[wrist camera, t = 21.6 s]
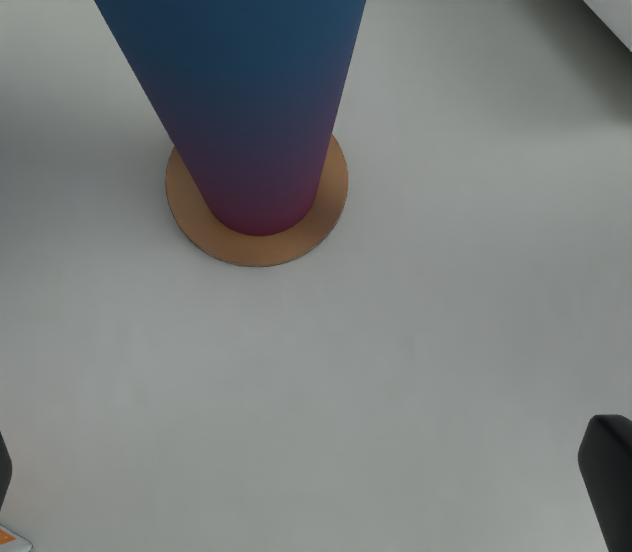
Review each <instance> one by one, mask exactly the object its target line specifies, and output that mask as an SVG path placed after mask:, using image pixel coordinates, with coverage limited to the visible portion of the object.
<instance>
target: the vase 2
mask: <svg viewBox="0 0 632 552" xmlns="http://www.w3.org/2000/svg"><path fill="white" fill-rule="evenodd" d="M583 1H584V2H585V3H586V4H587V5H588V6H589V7H590V8H591V9H592V11H593V12H594V13H595V14H596V15H597V16H598V17H599V18H600V19H601V20H602V21H603V22H604V23H605V24H606V25H607V26H608V28H609V29H610V30H611V31H612V32H613V33H614V34H615V35H616V36H617V37H618V38H619V39H620V40H621V41H622V42H623V43H624V45H625V46H626V47H627V48H628V49H629V50H630V51H631V52H632V0H583Z"/></svg>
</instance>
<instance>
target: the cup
mask: <svg viewBox="0 0 632 552" xmlns="http://www.w3.org/2000/svg"><path fill="white" fill-rule="evenodd" d="M94 1H95V3H96V5H97V6H98V8H99V10H100V12H101V14H102V16H103V17H104V19H105V21H106V23H107V25H108V26H109V28H110V30H111V32H112V34H113V35H114V37H115V39H116V41H117V43H118V44H119V46H120V48H121V50H122V52H123V54H124V55H125V57H126V59H127V61H128V63H129V64H130V66H131V68H132V70H133V72H134V73H135V75H136V77H137V79H138V81H139V82H140V84H141V86H142V88H143V90H144V92H145V93H146V95H147V97H148V99H149V101H150V102H151V104H152V106H153V108H154V110H155V111H156V113H157V115H158V117H159V119H160V120H161V122H162V124H163V126H164V128H165V130H166V131H167V133H168V135H169V137H170V139H171V140H172V142H173V144H174V146H175V148H176V149H177V151H178V153H179V155H180V157H181V158H182V160H183V162H184V164H185V166H186V168H187V169H188V171H189V173H190V175H191V177H192V178H193V180H194V182H195V184H196V186H197V187H198V189H199V191H200V193H201V195H202V196H203V198H204V200H205V202H206V204H207V205H208V207H209V209H210V210H211V212H212V214H213V215H214V216H215V217H216V218H217V219H218V220H219V221H220V222H221V223H222V224H224V225H225V226H227V227H228V228H230V229H232V230H234V231H236V232H238V233H242V234H246V235H250V236H267V235H274V234H277V233H280V232H283V231H286V230H287V229H289V228H291V227H293V226H295V225H296V224H297V223H298V222H299V221H300V220H302V219H303V218H304V216H305V215H306V214H307V213H308V211H309V210H310V208H311V206H312V204H313V202H314V200H315V196H316V192H317V189H318V185H319V181H320V177H321V173H322V169H323V165H324V161H325V158H326V154H327V150H328V146H329V142H330V138H331V134H332V130H333V127H334V123H335V119H336V115H337V111H338V107H339V103H340V99H341V96H342V92H343V88H344V84H345V80H346V76H347V72H348V68H349V65H350V61H351V57H352V53H353V49H354V45H355V41H356V37H357V34H358V30H359V26H360V22H361V18H362V14H363V10H364V6H365V3H366V0H94Z"/></svg>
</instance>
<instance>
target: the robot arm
mask: <svg viewBox="0 0 632 552" xmlns="http://www.w3.org/2000/svg"><path fill="white" fill-rule="evenodd" d="M578 464H579V468H580V471H581V474H582V477H583V480H584V483H585V485H586V488H587V491H588V494H589V497H590V500H591V503H592V505H593V508H594V511H595V514H596V517H597V520H598V522H599V525H600V528H601V531H602V534H603V537H604V539H605V542H606V545H607V548H608V550H609V552H632V421H630V420H629V419H627V418H625V417H624V416H621V415H595V416H593V417H592V418H591V419H590V421H589V423H588V426H587V429H586V432H585V434H584V437H583V440H582V443H581V445H580V448H579V451H578ZM11 475H12V463H11V459H10V456H9V454H8V451H7V448H6V445H5V443H4V440H3V437H2V434H1V432H0V510H1V507H2V504H3V501H4V498H5V495H6V492H7V489H8V486H9V483H10V480H11Z"/></svg>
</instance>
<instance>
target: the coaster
mask: <svg viewBox="0 0 632 552" xmlns="http://www.w3.org/2000/svg"><path fill="white" fill-rule="evenodd" d="M347 189H348V172H347V166H346V161H345V158H344V155H343V152H342V150H341V148H340V146H339V144H338V142H337V141H336V139H335V138H334V136H333V135H332V134H331V138H330V142H329V146H328V150H327V154H326V158H325V161H324V165H323V169H322V173H321V177H320V181H319V185H318V189H317V192H316V196H315V200H314V202H313V204H312V206H311V208H310V210H309V211H308V213H307V214H306V215H305V216H304V218H303V219H302V220H300V221H299V222H298V223H297V224H296V225H295V226H293V227H291V228H289V229H287V230H286V231H283V232H280V233H277V234H274V235H267V236H250V235H246V234H242V233H238V232H236V231H234V230H232V229H230V228H228V227H227V226H225V225H224V224H222V223H221V222H220V221H219V220H218V219H217V218H216V217H215V216H214V215H213V214H212V212H211V210H210V209H209V207H208V205H207V204H206V202H205V200H204V198H203V196H202V195H201V193H200V191H199V189H198V187H197V186H196V184H195V182H194V180H193V178H192V177H191V175H190V173H189V171H188V169H187V168H186V166H185V164H184V162H183V160H182V158H181V157H180V155H179V153H178V151H177V149H176V148H175V147H174V148H173V150H172V153H171V156H170V158H169V161H168V166H167V170H166V194H167V199H168V203H169V206H170V209H171V211H172V214H173V216H174V218H175V220H176V222H177V223H178V225H179V227H180V228H181V230H182V231H183V232H184V234H185V235H186V236H187V237H188V238H189V239H190V240H191V241H192V242H193V243H194V244H195V245H196V246H197V247H199V248H200V249H201V250H203V251H204V252H206V253H208V254H209V255H211V256H213V257H215V258H217V259H220V260H222V261H224V262H227V263H231V264H235V265H240V266H248V267H265V266H273V265H278V264H282V263H286V262H289V261H291V260H294V259H296V258H299V257H300V256H302V255H304V254H306V253H308V252H309V251H311V250H312V249H313V248H315V247H316V246H317V245H319V244H320V243H321V242H322V241H323V240H324V239H325V238H326V237H327V236H328V234H329V233H330V232H331V231H332V229H333V228H334V226H335V225H336V223H337V221H338V220H339V218H340V215H341V213H342V211H343V208H344V204H345V200H346V197H347Z"/></svg>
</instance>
